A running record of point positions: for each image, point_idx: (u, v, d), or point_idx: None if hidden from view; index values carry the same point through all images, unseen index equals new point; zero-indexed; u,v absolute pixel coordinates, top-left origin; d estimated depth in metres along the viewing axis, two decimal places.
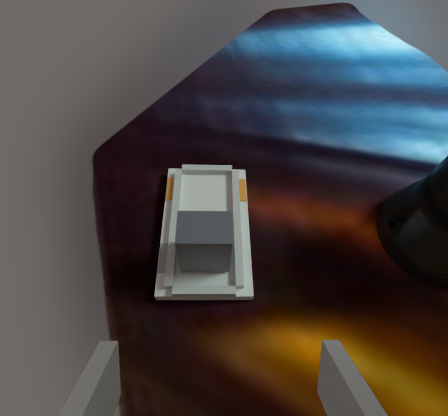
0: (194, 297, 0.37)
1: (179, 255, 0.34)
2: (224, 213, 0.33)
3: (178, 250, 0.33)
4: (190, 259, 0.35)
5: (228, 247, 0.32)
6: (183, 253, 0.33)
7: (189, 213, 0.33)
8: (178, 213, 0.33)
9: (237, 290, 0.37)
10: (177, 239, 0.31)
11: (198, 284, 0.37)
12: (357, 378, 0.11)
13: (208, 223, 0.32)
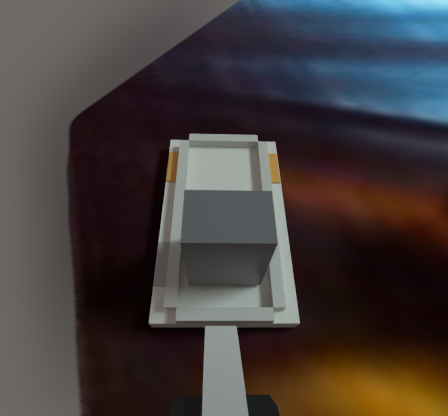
0: (209, 324, 0.24)
1: (188, 262, 0.21)
2: (259, 193, 0.21)
3: (186, 254, 0.20)
4: (204, 267, 0.22)
5: (268, 250, 0.19)
6: (194, 258, 0.20)
7: (203, 194, 0.20)
8: (186, 194, 0.20)
9: (274, 314, 0.24)
10: (184, 236, 0.19)
11: (214, 304, 0.25)
12: (235, 359, 0.12)
13: (234, 210, 0.20)
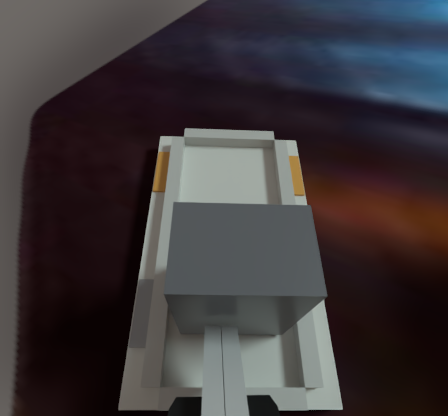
0: None
1: (178, 314, 0.14)
2: (291, 209, 0.13)
3: (174, 306, 0.12)
4: (203, 319, 0.14)
5: (308, 303, 0.12)
6: (187, 310, 0.13)
7: (204, 209, 0.13)
8: (175, 209, 0.13)
9: (305, 393, 0.17)
10: (171, 282, 0.11)
11: None
12: (235, 359, 0.12)
13: (254, 237, 0.12)
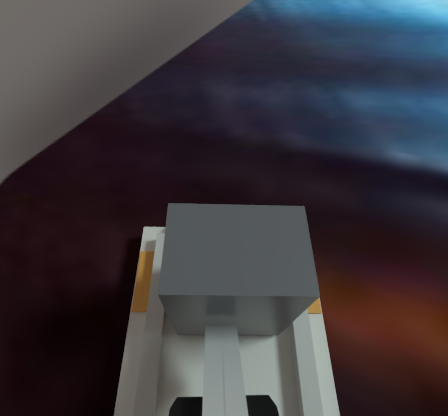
0: None
1: (173, 315, 0.14)
2: (286, 210, 0.13)
3: (169, 307, 0.12)
4: (198, 320, 0.15)
5: (301, 303, 0.12)
6: (182, 311, 0.13)
7: (198, 210, 0.13)
8: (170, 210, 0.13)
9: None
10: (165, 282, 0.11)
11: None
12: (234, 359, 0.12)
13: (247, 238, 0.12)
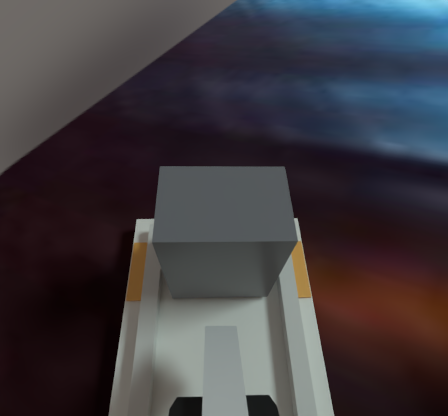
0: None
1: (167, 270, 0.15)
2: (267, 170, 0.14)
3: (163, 259, 0.14)
4: (191, 277, 0.16)
5: (282, 250, 0.13)
6: (175, 264, 0.14)
7: (188, 172, 0.14)
8: (162, 172, 0.14)
9: None
10: (159, 232, 0.12)
11: None
12: (234, 359, 0.12)
13: (233, 194, 0.14)
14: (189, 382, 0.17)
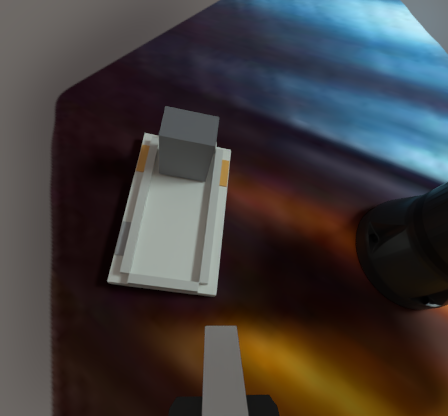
0: (152, 287, 0.34)
1: (161, 152, 0.34)
2: (211, 117, 0.34)
3: (161, 145, 0.33)
4: (170, 159, 0.35)
5: (209, 150, 0.33)
6: (165, 149, 0.34)
7: (177, 111, 0.33)
8: (166, 108, 0.33)
9: (200, 286, 0.34)
10: (162, 132, 0.32)
11: (158, 274, 0.34)
12: (234, 359, 0.12)
13: (194, 124, 0.33)
14: (161, 208, 0.37)
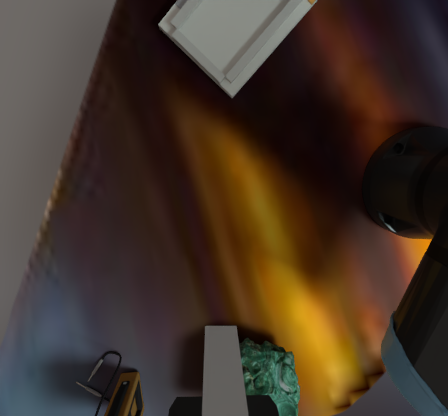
0: (189, 55, 0.37)
1: None
2: None
3: None
4: None
5: None
6: None
7: None
8: None
9: (225, 81, 0.37)
10: None
11: (199, 47, 0.36)
12: (234, 359, 0.12)
13: None
14: None
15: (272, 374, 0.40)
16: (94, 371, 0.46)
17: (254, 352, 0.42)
